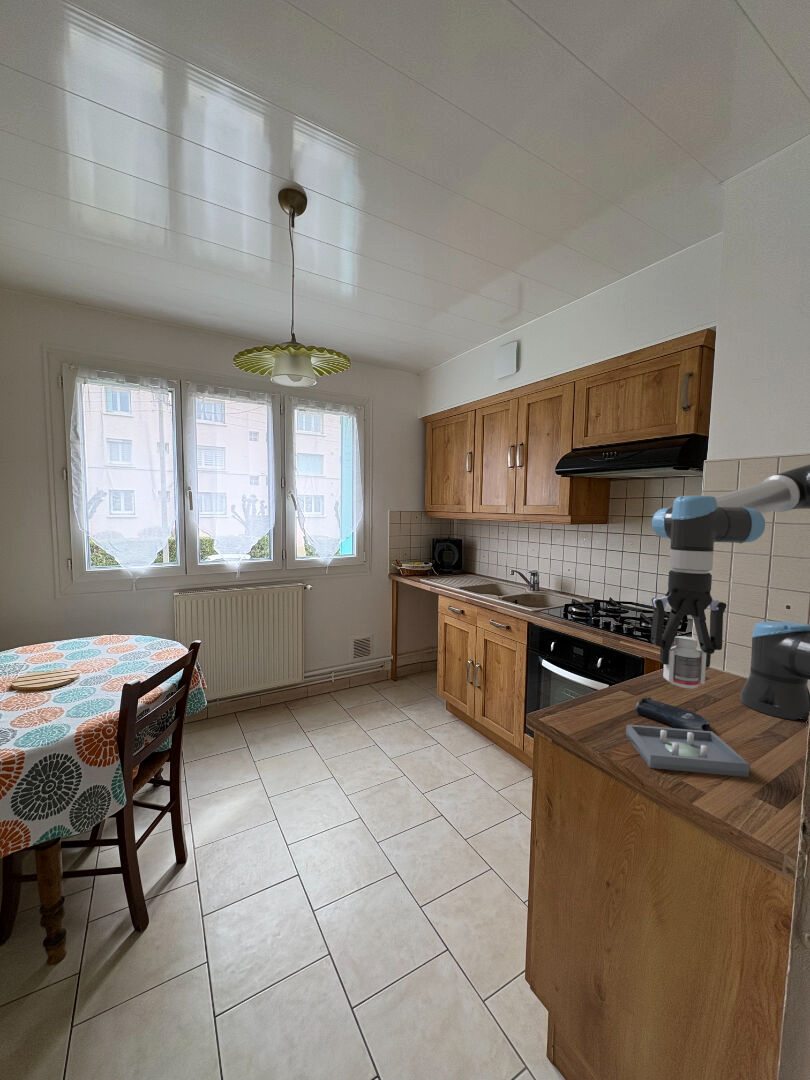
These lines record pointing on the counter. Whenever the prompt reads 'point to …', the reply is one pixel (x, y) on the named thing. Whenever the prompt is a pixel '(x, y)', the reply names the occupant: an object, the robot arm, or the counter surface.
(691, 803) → the counter surface
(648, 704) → the electronic device
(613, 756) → the counter surface
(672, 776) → the counter surface
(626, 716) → the counter surface
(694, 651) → the pill bottle
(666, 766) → the tray
